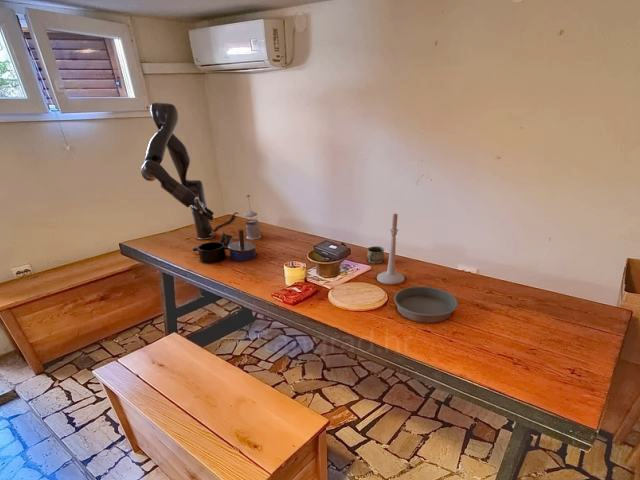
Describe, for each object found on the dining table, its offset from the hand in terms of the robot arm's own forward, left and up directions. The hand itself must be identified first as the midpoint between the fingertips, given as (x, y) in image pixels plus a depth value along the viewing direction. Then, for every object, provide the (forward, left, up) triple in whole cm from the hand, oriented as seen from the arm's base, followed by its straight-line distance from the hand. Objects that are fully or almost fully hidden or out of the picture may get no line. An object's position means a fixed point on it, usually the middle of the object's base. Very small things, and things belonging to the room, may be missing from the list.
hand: (212, 216), depth 187 cm
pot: (0, -4, -22) cm, 22 cm away
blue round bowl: (-1, +12, -22) cm, 25 cm away
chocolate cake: (-21, 0, -22) cm, 30 cm away
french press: (-34, +15, -22) cm, 43 cm away
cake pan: (+69, +92, -22) cm, 117 cm away
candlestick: (+38, +85, -22) cm, 96 cm away
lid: (-1, +12, -16) cm, 20 cm away
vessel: (+15, +82, -22) cm, 86 cm away
